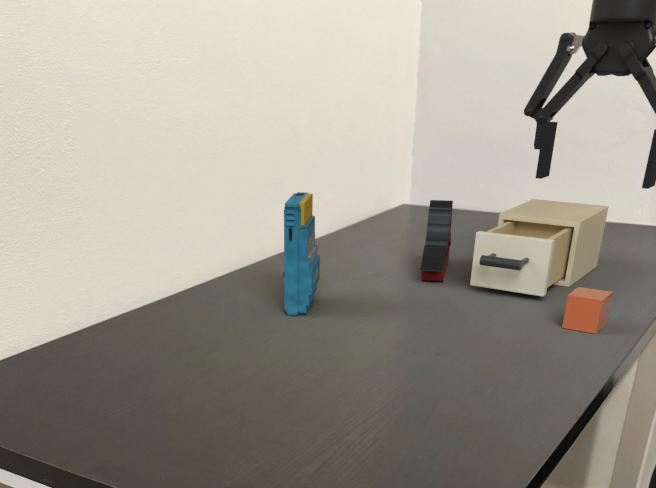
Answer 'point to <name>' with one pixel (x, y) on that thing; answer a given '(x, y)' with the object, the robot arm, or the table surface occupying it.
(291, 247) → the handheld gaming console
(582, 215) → the cabinet
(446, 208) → the extruded letter emblem
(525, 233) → the drawer
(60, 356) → the table surface
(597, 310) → the block
